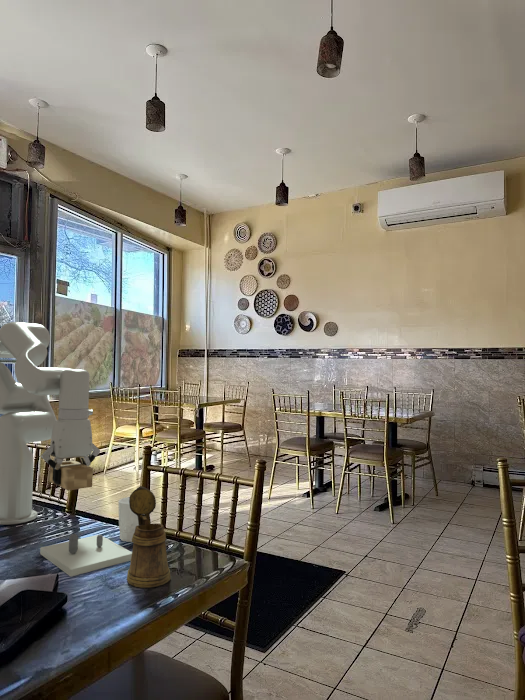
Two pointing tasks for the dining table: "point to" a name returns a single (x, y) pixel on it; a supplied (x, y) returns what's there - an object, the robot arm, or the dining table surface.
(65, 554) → the post board
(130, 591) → the dining table surface
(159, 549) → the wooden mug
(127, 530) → the white cup
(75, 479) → the tan hollow block
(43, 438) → the robot arm
